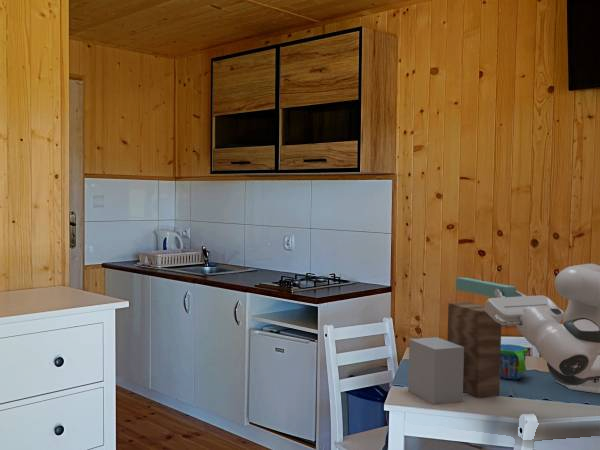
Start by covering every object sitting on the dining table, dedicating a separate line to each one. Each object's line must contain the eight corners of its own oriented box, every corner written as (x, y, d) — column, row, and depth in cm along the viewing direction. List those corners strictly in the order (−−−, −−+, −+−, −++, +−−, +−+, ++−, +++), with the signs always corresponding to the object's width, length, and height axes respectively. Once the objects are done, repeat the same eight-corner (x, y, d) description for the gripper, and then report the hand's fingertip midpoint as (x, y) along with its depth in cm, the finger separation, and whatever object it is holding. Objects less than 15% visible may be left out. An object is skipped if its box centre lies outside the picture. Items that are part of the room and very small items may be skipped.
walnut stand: (499, 395, 192) (501, 310, 191) (477, 398, 189) (479, 311, 188) (466, 381, 206) (469, 302, 206) (446, 383, 204) (448, 303, 203)
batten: (516, 299, 173) (516, 286, 172) (505, 300, 171) (506, 287, 171) (465, 288, 193) (465, 277, 193) (455, 289, 191) (456, 277, 191)
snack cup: (486, 371, 220) (487, 342, 219) (516, 371, 220) (516, 342, 220) (503, 384, 204) (504, 352, 204) (535, 384, 205) (536, 352, 204)
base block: (462, 400, 186) (464, 347, 185) (433, 404, 182) (435, 349, 181) (435, 387, 199) (437, 337, 198) (408, 390, 195) (409, 339, 194)
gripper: (498, 335, 161) (469, 301, 172) (559, 330, 169) (528, 298, 180) (507, 316, 158) (477, 282, 169) (569, 311, 166) (536, 280, 177)
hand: (504, 290), depth 174 cm, fingers closed on batten, 3 cm apart
